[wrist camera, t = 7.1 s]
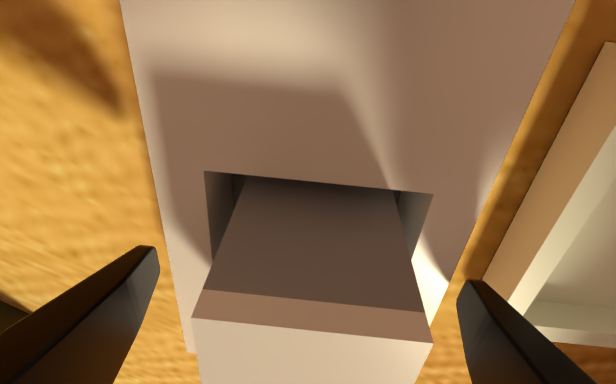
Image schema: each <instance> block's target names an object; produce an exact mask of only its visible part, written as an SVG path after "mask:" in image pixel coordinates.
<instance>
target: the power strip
mask: <svg viewBox="0 0 616 384" xmlns="http://www.w3.org/2000/svg"><path fill="white" fill-rule="evenodd" d="M119 1H120V6H121V11H122V16H123V21H124V27H125V32H126V37H127V42H128V48H129V53H130V58H131V63H132V68H133V74H134V79H135V84H136V89H137V95H138V100H139V105H140V110H141V115H142V121H143V126H144V131H145V136H146V141H147V147H148V152H149V157H150V162H151V168H152V173H153V178H154V183H155V188H156V194H157V199H158V204H159V209H160V215H161V220H162V225H163V230H164V235H165V241H166V246H167V251H168V256H169V261H170V267H171V272H172V277H173V282H174V288H175V293H176V298H177V303H178V308H179V314H180V319H181V324H182V329H183V335H184V340H185V345H186V350H187V353H195V354H196V349H195V342H194V336H193V330H192V323H191V316H192V313H193V311H194V308H195V306H196V303H197V301H198V298H199V296H200V293H201V291H202V288H203V286H204V283H205V281H206V278H207V276H208V273H209V271H210V268H211V266H212V263H213V261H214V258H215V256H216V253H217V251H218V248H219V246H220V243H221V241H222V238H223V236H224V233H225V231H226V228H227V226H228V223H229V221H230V219H231V216H232V214H233V211H234V209H235V206H236V204H237V201H238V199H239V196H240V194H241V191H242V189H243V186H244V184H245V181H246V179H247V176H248V175H253V176H263V177H273V178H283V179H292V180H302V181H312V182H322V183H332V184H342V185H352V186H361V187H371V188H381V189H391V190H393V194H394V198H395V201H396V205H397V209H398V213H399V216H400V220H401V224H402V227H403V231H404V235H405V239H406V242H407V246H408V250H409V254H410V257H411V261H412V265H413V268H414V272H415V276H416V280H417V283H418V287H419V291H420V294H421V298H422V302H423V306H424V309H425V313H426V317H427V320H428V324H429V327H430V324H431V322H432V320H433V318H434V316H435V313H436V311H437V309H438V307H439V304H440V302H441V300H442V298H443V295H444V293H445V291H446V289H447V287H448V284H449V282H450V280H451V278H452V275H453V273H454V271H455V269H456V267H457V264H458V262H459V260H460V258H461V255H462V253H463V251H464V249H465V246H466V244H467V242H468V240H469V238H470V235H471V233H472V231H473V229H474V226H475V224H476V222H477V220H478V217H479V215H480V213H481V211H482V209H483V206H484V204H485V202H486V200H487V197H488V195H489V193H490V191H491V188H492V186H493V184H494V182H495V180H496V177H497V175H498V173H499V171H500V168H501V166H502V164H503V162H504V159H505V157H506V155H507V153H508V151H509V148H510V146H511V144H512V142H513V139H514V137H515V135H516V133H517V130H518V128H519V126H520V124H521V122H522V119H523V117H524V115H525V113H526V110H527V108H528V106H529V104H530V101H531V99H532V97H533V95H534V93H535V90H536V88H537V86H538V84H539V81H540V79H541V77H542V75H543V72H544V70H545V68H546V66H547V64H548V61H549V59H550V57H551V55H552V52H553V50H554V48H555V46H556V43H557V41H558V39H559V37H560V35H561V32H562V30H563V28H564V26H565V23H566V21H567V19H568V17H569V14H570V12H571V10H572V8H573V6H574V3H575V1H576V0H119Z"/></svg>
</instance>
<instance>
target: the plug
mask: <svg viewBox="0 0 616 384" xmlns="http://www.w3.org/2000/svg"><path fill="white" fill-rule="evenodd" d="M191 323H192V330H193V336H194V342H195V349H196V355H197V361H198V368H199V374H200V381H201V384H414V383H415V381H416V379H417V377H418V375H419V373H420V371H421V368H422V366H423V364H424V362H425V360H426V358H427V356H428V354H429V352H430V350H431V348H432V346H433V344H434V343H433V339H432V335H431V332H430V328H429V324H428V320H427V317H426V313H425V309H424V306H423V302H422V298H421V294H420V291H419V287H418V283H417V280H416V276H415V272H414V268H413V265H412V261H411V257H410V254H409V250H408V246H407V242H406V239H405V235H404V231H403V227H402V224H401V220H400V216H399V213H398V209H397V205H396V201H395V198H394V194H393V190H391V189H381V188H371V187H361V186H352V185H342V184H332V183H322V182H312V181H302V180H292V179H283V178H273V177H263V176H253V175H248V176H247V179H246V181H245V184H244V186H243V189H242V191H241V194H240V196H239V199H238V201H237V204H236V206H235V209H234V211H233V214H232V216H231V219H230V221H229V223H228V226H227V228H226V231H225V233H224V236H223V238H222V241H221V243H220V246H219V248H218V251H217V253H216V256H215V258H214V261H213V263H212V266H211V268H210V271H209V273H208V276H207V278H206V281H205V283H204V286H203V288H202V291H201V293H200V296H199V298H198V301H197V303H196V306H195V308H194V311H193V313H192V316H191Z"/></svg>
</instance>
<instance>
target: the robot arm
mask: <svg viewBox="0 0 616 384" xmlns="http://www.w3.org/2000/svg"><path fill="white" fill-rule="evenodd" d="M159 274H160V265H159V261H158V256H157V251H156V249H155V247H153V246H145V245H139V246H137V247H135V248H133V249H132V250H130V251H129V252H127V253H125V254H124V255H122V256H121V257H119V258H118V259H116V260H114V261H113V262H111V263H110V264H108V265H107V266H105V267H103V268H102V269H100V270H99V271H97V272H95V273H94V274H92V275H91V276H89V277H88V278H86V279H84V280H83V281H81V282H80V283H78V284H77V285H75V286H73V287H72V288H70V289H69V290H67V291H66V292H64V293H62V294H61V295H59V296H58V297H56V298H55V299H53V300H51V301H50V302H48V303H47V304H45V305H43V306H42V307H40V308H39V309H37V310H36V311H34V312H32V313H31V314H29V315H28V316H26V317H25V318H23V319H21V320H20V321H18V322H17V323H15V324H14V325H12V326H10V327H9V328H7V329H6V330H4V331H3V332H1V333H0V384H113V382H114V380H115V378H116V376H117V374H118V372H119V370H120V368H121V366H122V364H123V362H124V360H125V358H126V356H127V354H128V352H129V350H130V348H131V346H132V344H133V342H134V340H135V338H136V336H137V333H138V331H139V329H140V327H141V324H142V322H143V319H144V316H145V314H146V311H147V308H148V305H149V303H150V300H151V297H152V294H153V291H154V289H155V286H156V283H157V280H158V278H159ZM456 307H457V313H458V319H459V325H460V330H461V336H462V342H463V348H464V353H465V358H466V363H467V366H468V370H469V374H470V377H471V381H472V384H597V383H596V382H595V381H594V380H593V379H591V378H590V377H589V376H588V375H587V374H586V373H585V372H584V371H583V370H582V369H580V368H579V367H578V366H577V365H576V364H575V363H574V362H573V361H572V360H571V359H569V358H568V357H567V356H566V355H565V354H564V353H563V352H562V351H561V350H560V349H558V348H557V347H556V346H555V345H554V344H553V343H552V342H551V341H550V340H549V339H548V338H546V337H545V336H544V335H543V334H542V333H541V332H540V331H539V330H538V329H537V328H535V327H534V326H533V325H532V324H531V323H530V322H529V321H528V320H527V319H526V318H524V317H523V316H522V315H521V314H520V313H519V312H518V311H517V310H516V309H515V308H513V307H512V306H511V305H510V304H509V303H508V302H507V301H506V300H505V299H504V298H502V297H501V296H500V295H499V294H498V293H497V292H496V291H495V290H494V289H493V288H491V287H490V286H489V285H488V284H487V283H486V282H485V281H483V280H476V279H468V280H466V281H465V283H464V285H463V287H462V289H461V291H460V293H459V295H458V298H457V302H456Z"/></svg>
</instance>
